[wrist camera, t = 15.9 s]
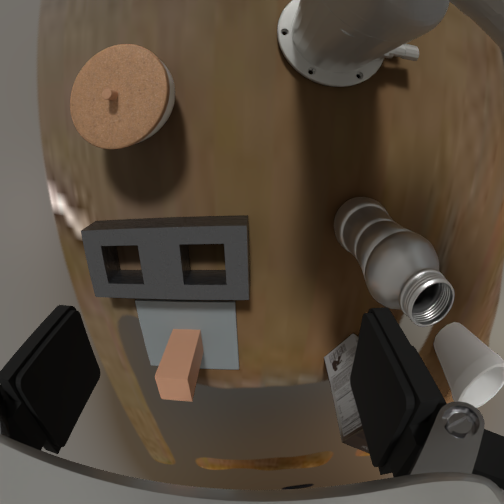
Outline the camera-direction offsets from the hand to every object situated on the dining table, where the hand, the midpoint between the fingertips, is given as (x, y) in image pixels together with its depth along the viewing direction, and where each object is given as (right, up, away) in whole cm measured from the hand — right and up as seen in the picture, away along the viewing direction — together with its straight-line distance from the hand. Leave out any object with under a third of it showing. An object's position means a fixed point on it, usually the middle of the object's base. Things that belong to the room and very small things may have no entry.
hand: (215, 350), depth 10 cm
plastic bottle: (+14, +7, +28) cm, 32 cm away
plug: (-8, -10, +34) cm, 36 cm away
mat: (-8, -9, +34) cm, 36 cm away
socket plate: (-9, +3, +30) cm, 31 cm away
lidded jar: (-12, +21, +23) cm, 33 cm away
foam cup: (+34, -11, +34) cm, 50 cm away
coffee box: (+17, -13, +36) cm, 42 cm away
